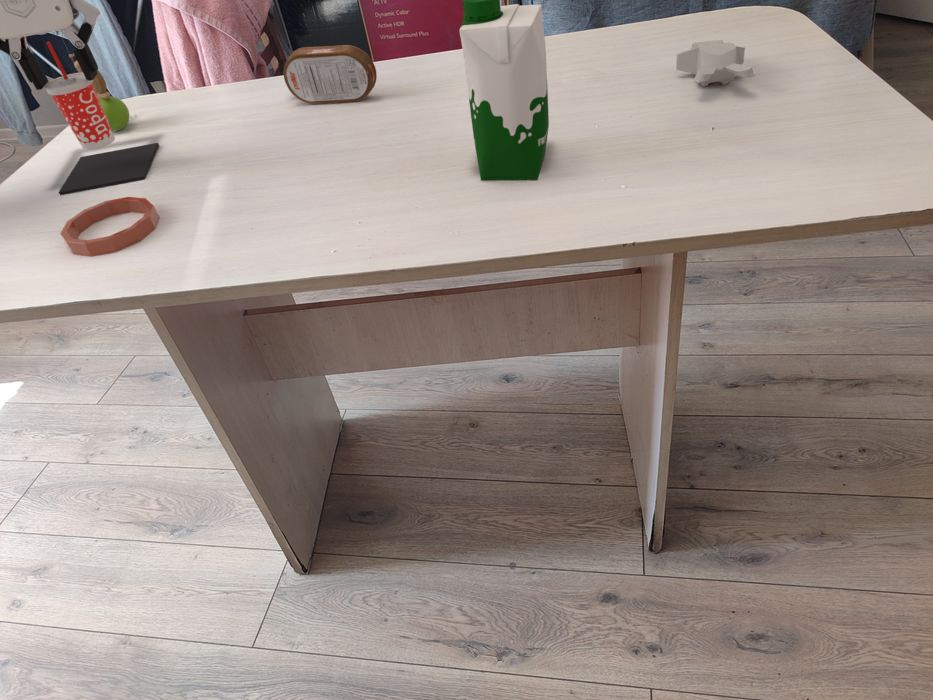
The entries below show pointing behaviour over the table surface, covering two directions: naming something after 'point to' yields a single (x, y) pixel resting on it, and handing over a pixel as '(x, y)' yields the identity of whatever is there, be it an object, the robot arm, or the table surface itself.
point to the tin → (330, 74)
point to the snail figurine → (108, 102)
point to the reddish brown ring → (115, 240)
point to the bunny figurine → (714, 62)
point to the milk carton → (506, 87)
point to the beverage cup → (80, 107)
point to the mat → (110, 168)
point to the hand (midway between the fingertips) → (67, 80)
